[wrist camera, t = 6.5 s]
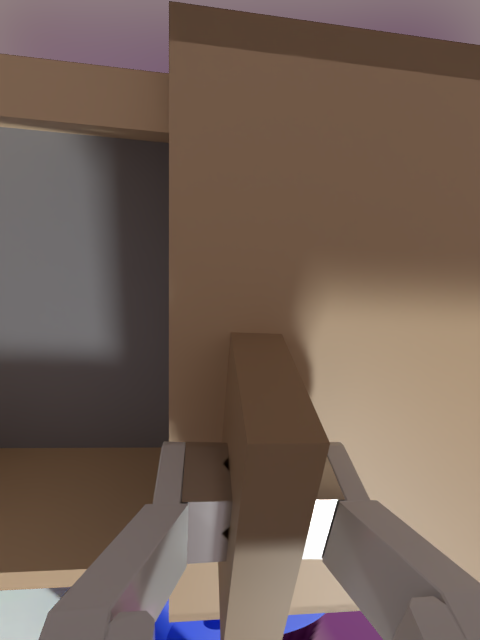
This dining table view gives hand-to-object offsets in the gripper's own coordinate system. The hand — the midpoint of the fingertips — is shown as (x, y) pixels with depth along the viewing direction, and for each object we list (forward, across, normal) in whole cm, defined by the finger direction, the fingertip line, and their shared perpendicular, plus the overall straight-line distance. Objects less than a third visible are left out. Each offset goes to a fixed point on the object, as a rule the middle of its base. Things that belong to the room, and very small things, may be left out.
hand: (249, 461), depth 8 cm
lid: (+3, -8, 0) cm, 8 cm away
